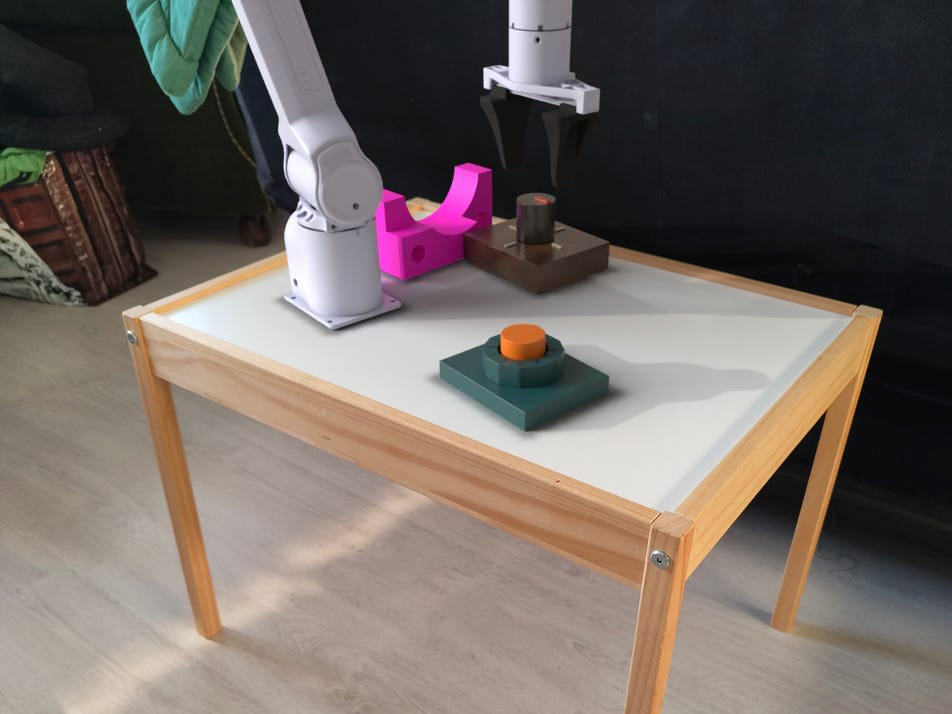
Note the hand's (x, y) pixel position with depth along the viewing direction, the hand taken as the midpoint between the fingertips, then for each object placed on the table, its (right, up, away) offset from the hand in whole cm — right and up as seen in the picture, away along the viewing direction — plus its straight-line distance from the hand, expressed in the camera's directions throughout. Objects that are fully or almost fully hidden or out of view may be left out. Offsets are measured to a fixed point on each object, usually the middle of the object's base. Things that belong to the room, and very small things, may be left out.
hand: (536, 176), depth 90 cm
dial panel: (0, -8, +5) cm, 9 cm away
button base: (-2, -23, -16) cm, 28 cm away
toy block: (-10, -6, +8) cm, 14 cm away
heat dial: (0, -5, +4) cm, 6 cm away
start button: (-2, -20, -17) cm, 27 cm away
